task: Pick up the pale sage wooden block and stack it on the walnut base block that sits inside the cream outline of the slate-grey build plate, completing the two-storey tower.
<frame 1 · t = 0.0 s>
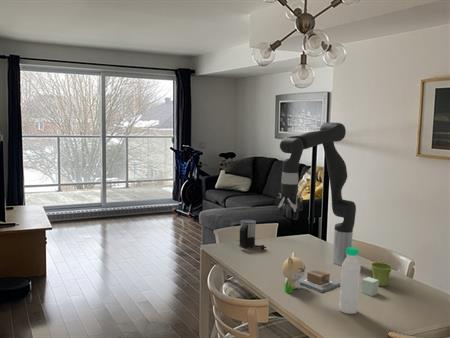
hand: (288, 218, 202), 29 cm above the table, fingers open, 8 cm apart
walnut base block: (318, 281, 202), point 1 cm above the table, touching build plate
kitten: (292, 288, 197), on the table
water bottle: (348, 311, 175), on the table
sage block: (369, 293, 194), on the table
plant pot: (380, 284, 206), on the table
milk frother: (252, 248, 258), on the table
build plate: (317, 284, 203), on the table
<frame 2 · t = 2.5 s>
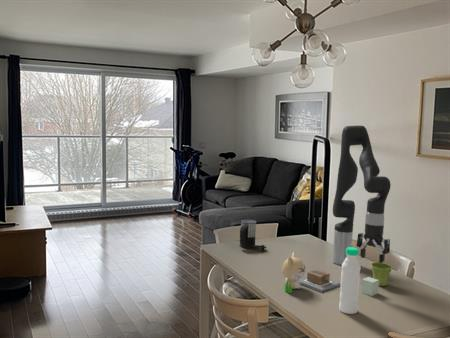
hand: (371, 260, 193), 15 cm above the table, fingers open, 8 cm apart
nothing on the table moved.
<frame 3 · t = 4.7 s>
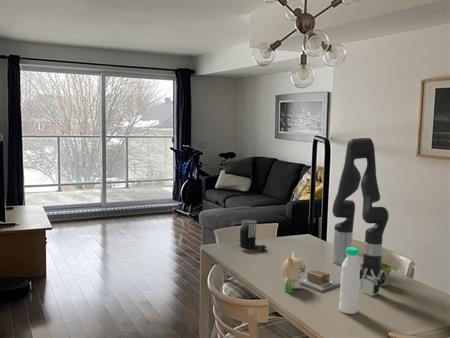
hand: (369, 290, 194), 1 cm above the table, fingers closed on sage block, 5 cm apart
sage block: (369, 292, 194), on the table, touching gripper
everything else where it was.
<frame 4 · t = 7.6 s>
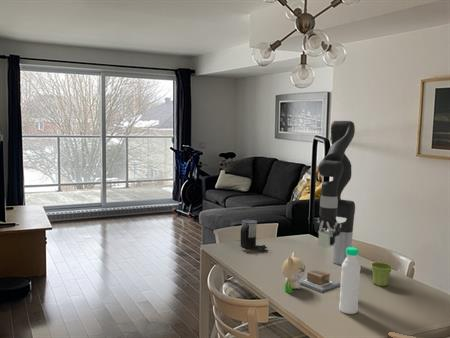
hand: (326, 243, 199), 19 cm above the table, fingers closed on sage block, 5 cm apart
sage block: (326, 245, 199), point 18 cm above the table, touching gripper
everything else where it was.
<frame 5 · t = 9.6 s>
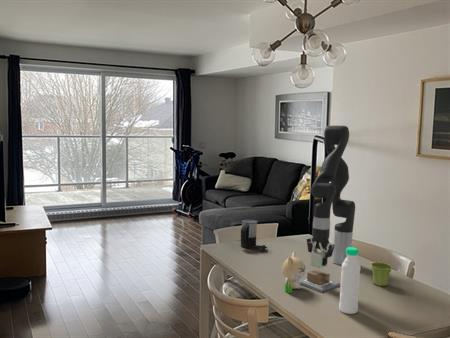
hand: (319, 263, 201), 10 cm above the table, fingers closed on sage block, 5 cm apart
sage block: (318, 265, 202), point 9 cm above the table, touching gripper
everything else where it was.
when the fingers open (8 cm above the table, at t = 10.9 s): sage block drops 2 cm, resting on walnut base block.
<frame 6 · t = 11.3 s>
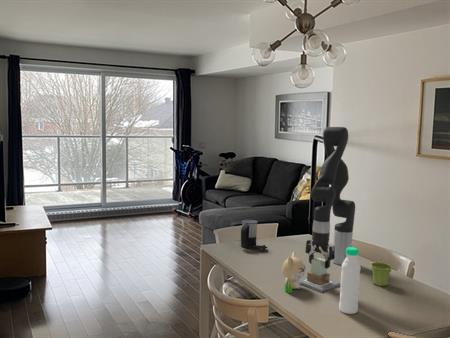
hand: (319, 265, 202), 9 cm above the table, fingers open, 8 cm apart
walnut base block: (318, 281, 202), point 1 cm above the table, touching build plate, sage block
sage block: (318, 273, 202), point 5 cm above the table, touching walnut base block
everything else where it was.
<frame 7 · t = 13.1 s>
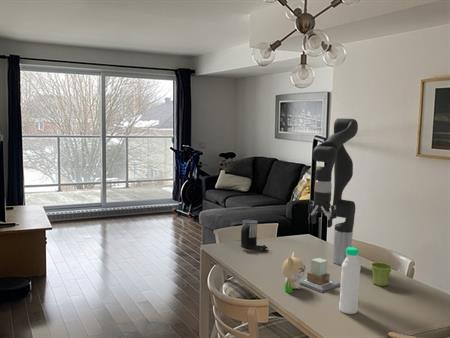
hand: (321, 225, 205), 26 cm above the table, fingers open, 8 cm apart
nothing on the table moved.
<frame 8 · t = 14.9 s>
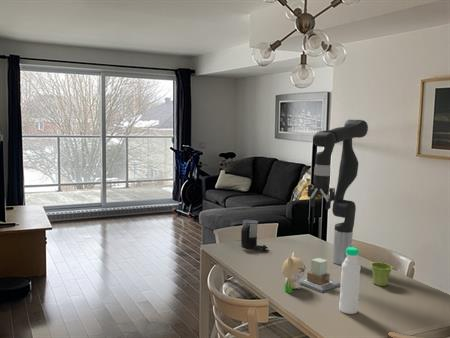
hand: (320, 207, 214), 32 cm above the table, fingers open, 8 cm apart
at the end: sage block 0.0 cm off-centre on the walnut base block, point 4.0 cm above the walnut base block's base; sage block tilted 0°; the gripper is holding nothing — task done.
